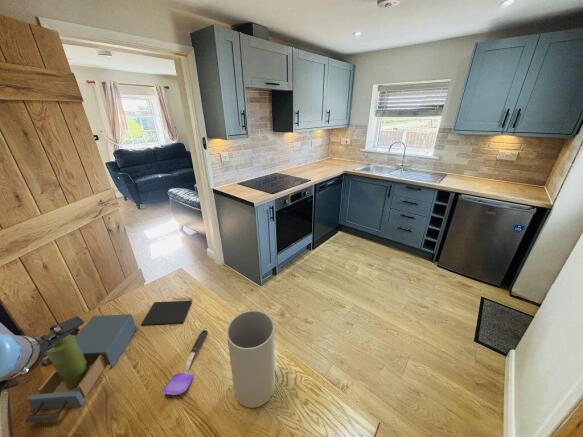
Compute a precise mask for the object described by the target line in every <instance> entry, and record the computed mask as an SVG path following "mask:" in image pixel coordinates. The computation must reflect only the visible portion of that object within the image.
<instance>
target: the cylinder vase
mask: <svg viewBox="0 0 583 437" xmlns="http://www.w3.org/2000/svg"><path fill="white" fill-rule="evenodd" d="M226 338H227V346H228V354H229V361H230V368H231V370H230V371H231V377H232V385H233V393H234V397H235V399H236V400H237V402H238V403H239V404H240V405H242V406H243V407H246V408H249V409H251V408H252V409H253V408H254V409H255V408H259V407H262V406H263V405H264V404H266V403H267V402H268V401H269V400H270V399H271V397H272V395H273V394H274V391H275V387H276V377H275V376H276V366H275V364H276V362H275V358H276V357H275V322H274V320H273V319H272V317H271V316H270V315H269V314H267V313H265V312H264V311H261V310H253V309H252V310H247V311H244V312H241V313H239V314H236V315H235V317H233V318H232V319H231V320H230V322H229V324H228V325H227V329H226Z"/></svg>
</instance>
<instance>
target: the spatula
mask: <svg viewBox="0 0 583 437" xmlns="http://www.w3.org/2000/svg"><path fill="white" fill-rule="evenodd" d="M207 335H208V330H207V329H203V330H202V331H201V332H200V333H199V335H198V337H197V339H196V340H195V342H194V344H193V346H192V348H191V350H190V354H189V356H188V358H187V361H186V363H185V367H184V370H183V373H179V372H178V373H175V374H174V375H173V376H172V377H171V378H170V380H169V381H168V383H167V384H166V385H165V386H164V388H163V389H162V394H163V395H173V396H177V395H181V394H183V393H184V392H186V391H187V390H188V388H189V386H190V384H191V382H192V380H193V379H194V375H193V374H191V373H189V371H190V367H191V365H192V362H193V360H194V357H195V354H197V353H198V351H199V350H200V347H201V346H202V344H203V343H204V340H205V339H206V337H207Z"/></svg>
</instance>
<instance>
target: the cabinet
mask: <svg viewBox="0 0 583 437" xmlns="http://www.w3.org/2000/svg"><path fill="white" fill-rule="evenodd" d="M135 332H137V325H136V322H135V320H134V317H133V313H127V314H109V315H108V314H107V315H105V314H104V315H93V316H91V318H90V320H88V322H87V323H86V324H85V325H84V326H83V327H82V329H80V331H79V332H78V333H79V334H78V335H76V337H75V339H76V341H77V343H78V345H79V347H80V349H81V351H82V353H83V355H95V354H104V356H105V358H106V360H107V362H108V363H107V365H110V367H109V369H112V368H114V366H115V365H116V363H117V361H118V360H119V358H120V356H121V355H122V353H123V352H124V350H125V348H126V347H127V345H128V343H129V342H130V340H131V339H132V337H133V335H134V334H135Z"/></svg>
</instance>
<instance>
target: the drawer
mask: <svg viewBox="0 0 583 437" xmlns="http://www.w3.org/2000/svg"><path fill="white" fill-rule="evenodd" d="M84 357H85V359H86V361H87V363H88V365H89V367H90V370H89V371H88V372H87V374H86V375H85V377H84V378H83V380H82V381H81V382H80V384H79V385H78V387H77V388H75V389H68V388H66V386H65V385H64V383H63V381H62V380H61V378H60V376H59V374H58V373H57V371H56V369H55V368H54V370H53V371H52V372H51V374H49V376H48V377H47V378H46V379H45V381H44V382H43V383H42V384H41V385H40V387H38V388H37V391H38V392H39V393H38V394H36V393H35V394H29V396H28V397H27V398H26V402H27V403H28V404H29V405H30V407H31V408H32V410H33V412H32V413H31V414H29V415H28V416H26V418H25V423H34V422H35V423H36V422H48V421H57V420H58V419H59V418H60V415H61V412H62V411H63V409H65V408H79V407H83V406H84V404H85V399H84V398H86V397H87V395H88V394H89V393H90V391H91V390H92V388H93V386H94V385H95V383H96V382H97V380H98V378H99V377H100V375H101V374H102V372H103V371H104V370H105V368H106V366H107V365H108V362H107V360H106V358H105V356H104V354H95V355H84ZM53 409H58V410H57V412H53V413H39V414H37V413H38V412H39V411H40V410H41V411H42V410H53Z"/></svg>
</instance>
